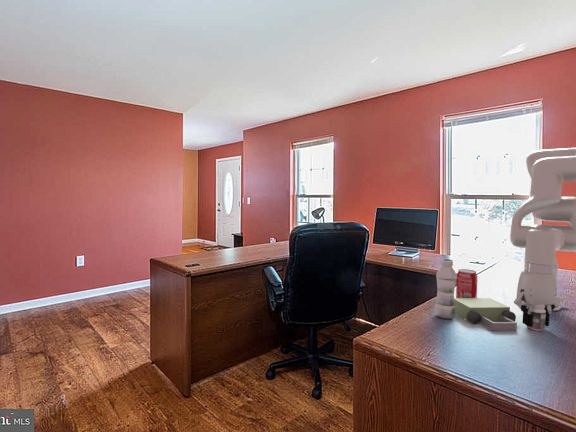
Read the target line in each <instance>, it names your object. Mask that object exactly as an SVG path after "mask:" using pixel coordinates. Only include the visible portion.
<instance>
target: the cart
mask: <svg viewBox="0 0 576 432" xmlns="http://www.w3.org/2000/svg"><path fill="white" fill-rule="evenodd" d="M454 305H455V315H456V316H457V317H460V318H461V319H462V320H464V319H465V321H466V322H467V323H471V324H473V325H478V324H480V325H482V326H484V327H485V326H486V327H485V328H487V329H489V330H490V329H491V330H490V331H492V330H493V332H516V331H517V328H518V326H517V325H518V323H517V322H516V319H517V315H516V314H515V312H512V311H511V307H510V306H507V305H506V304H504V303H501V302H499V301H497V300H495V299H492V298H490V297H477V298H456V297H454Z"/></svg>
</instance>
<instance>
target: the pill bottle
mask: <svg viewBox="0 0 576 432" xmlns="http://www.w3.org/2000/svg"><path fill="white" fill-rule="evenodd" d="M544 308H545V305H534V306H533V309H532V312H531V314H532V315H533V323H532V327H529V326H527V325H525V326H526V327H527V328H528V329H530V330H533V331H537V332H539V331H540V332H541V331H542V332H543V331H546V330H545V329H546V326H545V317H546V310H545V309H544Z"/></svg>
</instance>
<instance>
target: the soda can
mask: <svg viewBox="0 0 576 432" xmlns="http://www.w3.org/2000/svg"><path fill="white" fill-rule="evenodd" d="M456 275H457V279H456V284H455V288H456V289H455V298H478V297H477V296H478V275H477V270H473V269H469V268H467V269H466V268H462V269H461V268H460V269H458V271H457V273H456Z"/></svg>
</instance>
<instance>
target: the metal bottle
mask: <svg viewBox="0 0 576 432" xmlns="http://www.w3.org/2000/svg"><path fill="white" fill-rule="evenodd" d="M440 265H441V267H440V268H439V269H438V270H436V271H437V272H436V276H435V277H436V286H437V287H436V288H437V290H436V291H437V294H436V302H435V304H434V313H435V315H436V316H437V317H439V318H441V319H447V320H448V319H453V318H454V317H455V315H456V314H455V305H454V298H455V292H456V289H455V288H456V283H457V273H456V271H455V270H454V268H453V266H454V260H453V259H449V258H441V261H440Z"/></svg>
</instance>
